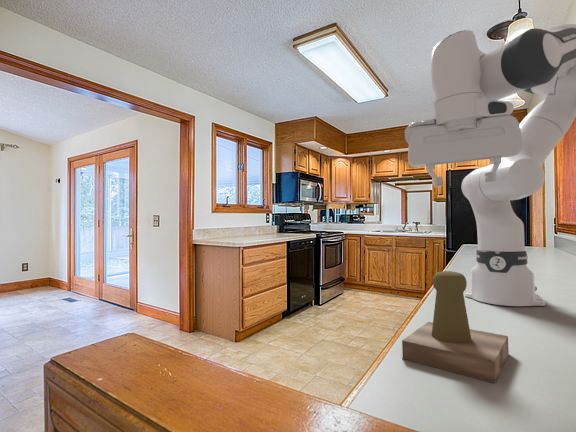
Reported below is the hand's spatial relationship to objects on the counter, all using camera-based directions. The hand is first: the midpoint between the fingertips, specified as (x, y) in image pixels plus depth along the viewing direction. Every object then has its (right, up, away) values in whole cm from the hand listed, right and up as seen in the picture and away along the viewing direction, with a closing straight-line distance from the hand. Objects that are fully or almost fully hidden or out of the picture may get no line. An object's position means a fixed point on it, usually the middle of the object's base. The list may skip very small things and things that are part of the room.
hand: (463, 184), depth 64 cm
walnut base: (-7, -30, -11) cm, 33 cm away
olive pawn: (-8, -27, -10) cm, 30 cm away
